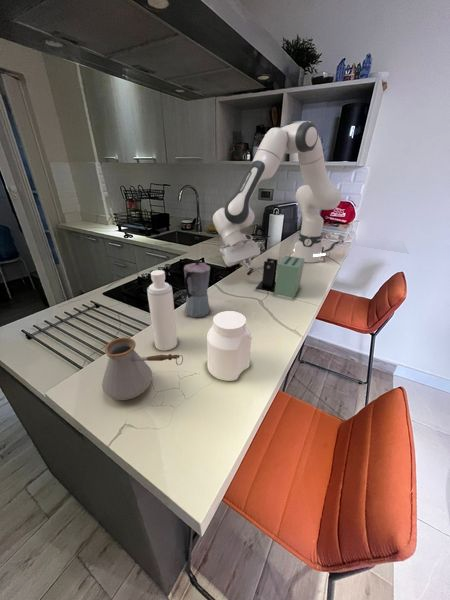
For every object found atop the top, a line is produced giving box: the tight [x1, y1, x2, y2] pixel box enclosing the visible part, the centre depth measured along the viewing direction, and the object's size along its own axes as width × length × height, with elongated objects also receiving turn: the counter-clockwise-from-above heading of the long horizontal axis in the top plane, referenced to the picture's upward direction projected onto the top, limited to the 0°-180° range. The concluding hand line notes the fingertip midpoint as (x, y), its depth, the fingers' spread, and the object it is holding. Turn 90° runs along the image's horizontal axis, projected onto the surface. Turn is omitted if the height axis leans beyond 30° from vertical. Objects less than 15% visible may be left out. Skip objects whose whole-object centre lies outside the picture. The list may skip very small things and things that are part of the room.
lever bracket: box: [255, 257, 279, 294], centre depth 110 cm, size 8×10×13 cm
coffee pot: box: [101, 337, 184, 401], centre depth 58 cm, size 21×12×15 cm, turn 69°
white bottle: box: [146, 269, 178, 351], centre depth 72 cm, size 7×7×25 cm
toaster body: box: [274, 255, 305, 299], centre depth 107 cm, size 8×12×14 cm, turn 154°
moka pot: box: [183, 259, 211, 318], centre depth 90 cm, size 10×15×20 cm, turn 164°
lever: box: [246, 261, 274, 276], centre depth 111 cm, size 12×5×2 cm, turn 63°
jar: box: [206, 310, 253, 382], centre depth 67 cm, size 12×10×15 cm
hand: (250, 269), depth 113 cm, fingers closed
